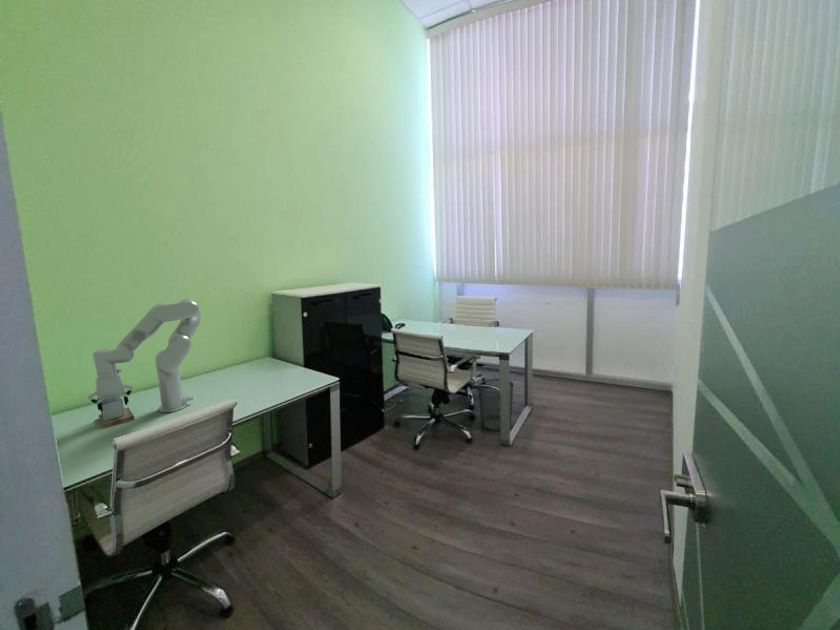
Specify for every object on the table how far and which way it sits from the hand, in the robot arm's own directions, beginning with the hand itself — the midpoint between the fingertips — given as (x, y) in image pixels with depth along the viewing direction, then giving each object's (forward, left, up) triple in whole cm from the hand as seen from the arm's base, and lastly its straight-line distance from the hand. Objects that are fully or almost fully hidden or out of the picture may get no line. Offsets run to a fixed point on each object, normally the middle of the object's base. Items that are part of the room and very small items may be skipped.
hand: (114, 407), depth 184 cm
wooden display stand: (0, -2, -7) cm, 7 cm away
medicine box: (+1, 0, -5) cm, 5 cm away
